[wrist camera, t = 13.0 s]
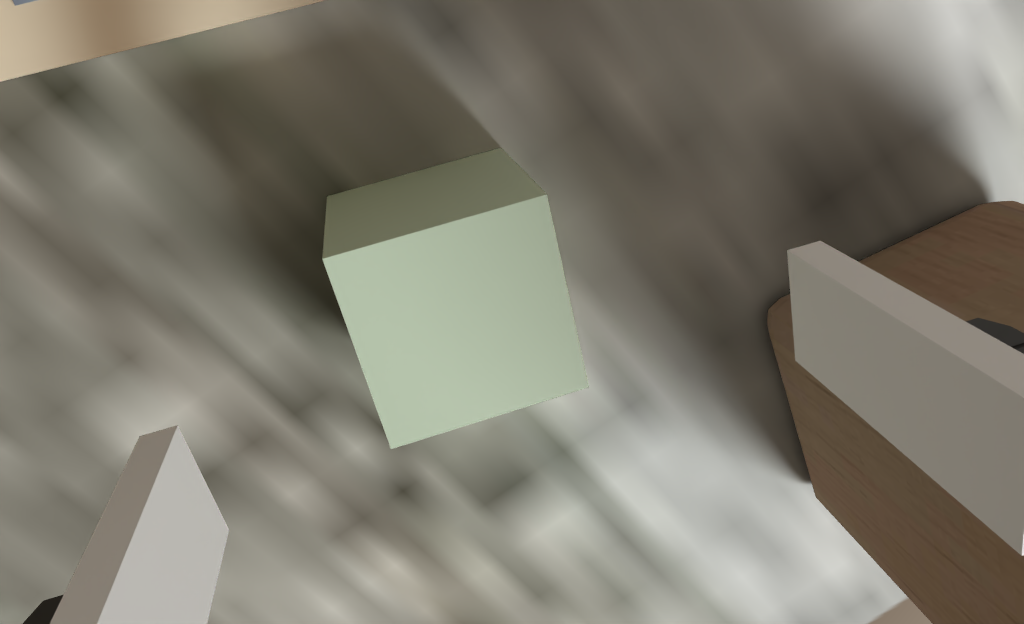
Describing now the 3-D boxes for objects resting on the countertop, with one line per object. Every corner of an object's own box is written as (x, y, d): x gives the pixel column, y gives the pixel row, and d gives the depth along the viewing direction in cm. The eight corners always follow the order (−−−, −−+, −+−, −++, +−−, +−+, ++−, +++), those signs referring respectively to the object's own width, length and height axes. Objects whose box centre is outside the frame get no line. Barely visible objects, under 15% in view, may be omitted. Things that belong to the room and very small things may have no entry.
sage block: (381, 351, 26) (390, 449, 20) (327, 195, 23) (322, 258, 18) (537, 304, 26) (589, 387, 21) (500, 147, 24) (547, 194, 18)
